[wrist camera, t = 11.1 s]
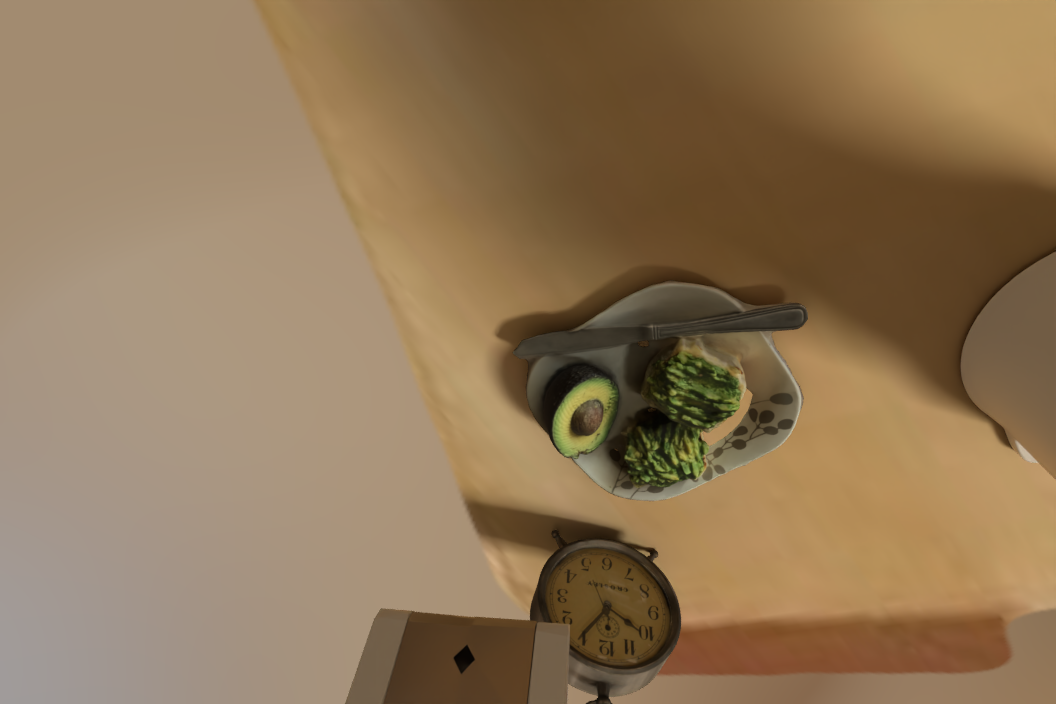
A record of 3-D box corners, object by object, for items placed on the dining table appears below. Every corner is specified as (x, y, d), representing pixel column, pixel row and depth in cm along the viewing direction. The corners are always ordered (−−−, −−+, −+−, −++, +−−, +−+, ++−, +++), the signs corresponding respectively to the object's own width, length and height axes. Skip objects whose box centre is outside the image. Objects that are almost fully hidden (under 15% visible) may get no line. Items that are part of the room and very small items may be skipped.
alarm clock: (675, 541, 53) (698, 748, 40) (655, 581, 56) (670, 787, 43) (546, 513, 53) (525, 712, 40) (533, 555, 56) (509, 753, 43)
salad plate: (737, 195, 37) (752, 225, 34) (863, 399, 44) (887, 444, 40) (485, 351, 45) (473, 390, 41) (625, 504, 52) (626, 550, 48)
